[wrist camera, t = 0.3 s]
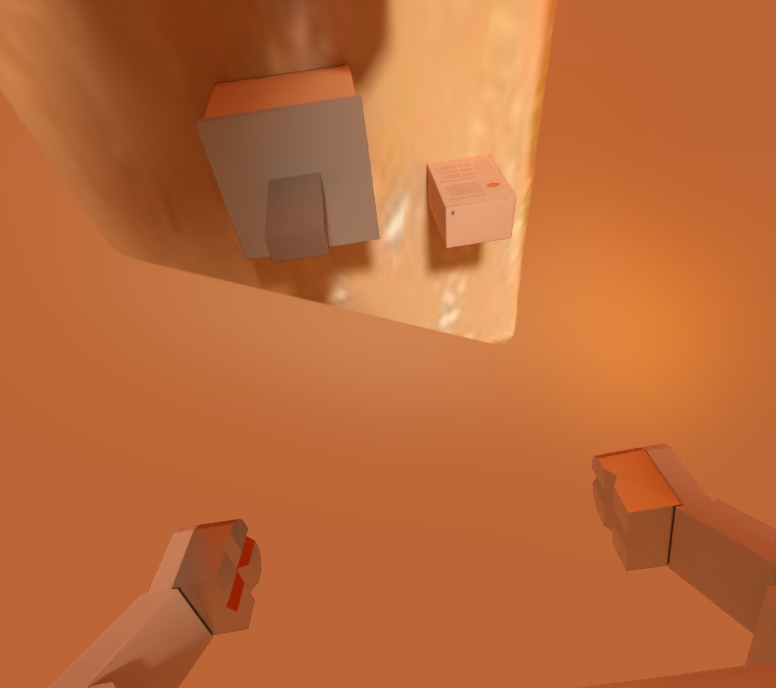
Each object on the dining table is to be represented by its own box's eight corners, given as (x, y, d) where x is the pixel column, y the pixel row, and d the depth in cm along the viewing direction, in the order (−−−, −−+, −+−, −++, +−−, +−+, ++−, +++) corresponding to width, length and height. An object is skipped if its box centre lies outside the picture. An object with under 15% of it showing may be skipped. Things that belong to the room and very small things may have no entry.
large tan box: (214, 83, 51) (201, 123, 44) (348, 63, 51) (356, 99, 44) (254, 204, 61) (249, 251, 54) (366, 187, 61) (374, 231, 54)
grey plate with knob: (195, 119, 44) (174, 178, 36) (360, 94, 44) (373, 148, 36) (246, 255, 54) (238, 322, 47) (378, 234, 55) (391, 298, 47)
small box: (427, 202, 64) (444, 250, 57) (426, 161, 60) (444, 207, 53) (488, 193, 64) (512, 239, 57) (490, 152, 60) (517, 196, 53)
